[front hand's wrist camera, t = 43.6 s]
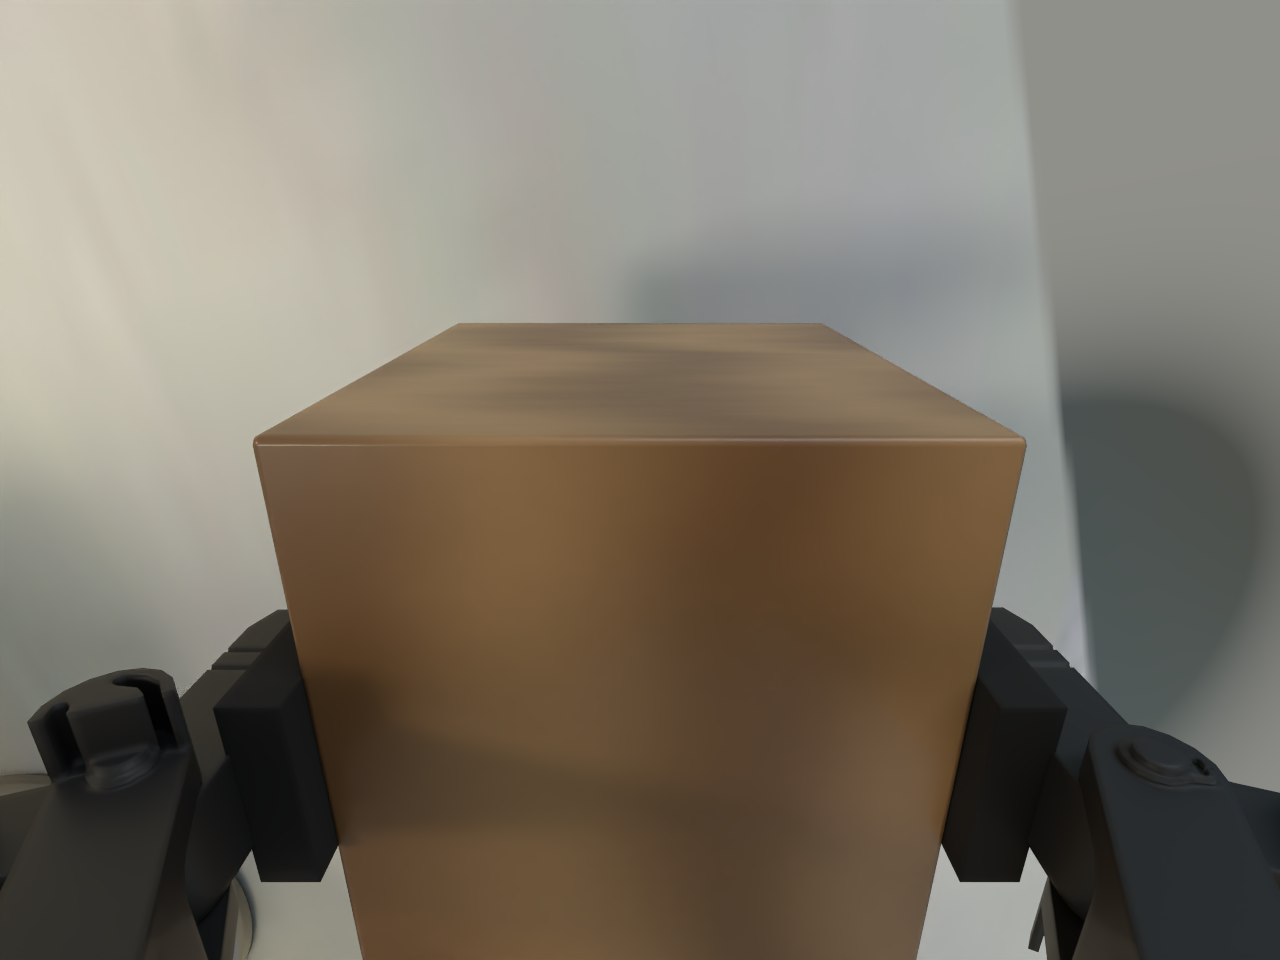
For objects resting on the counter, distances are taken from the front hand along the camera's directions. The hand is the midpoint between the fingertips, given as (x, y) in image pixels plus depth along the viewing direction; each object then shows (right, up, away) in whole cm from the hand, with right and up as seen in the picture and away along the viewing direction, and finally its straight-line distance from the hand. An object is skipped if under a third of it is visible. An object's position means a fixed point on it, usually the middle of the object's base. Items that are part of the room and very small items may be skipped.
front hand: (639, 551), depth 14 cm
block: (0, +1, +2) cm, 2 cm away
